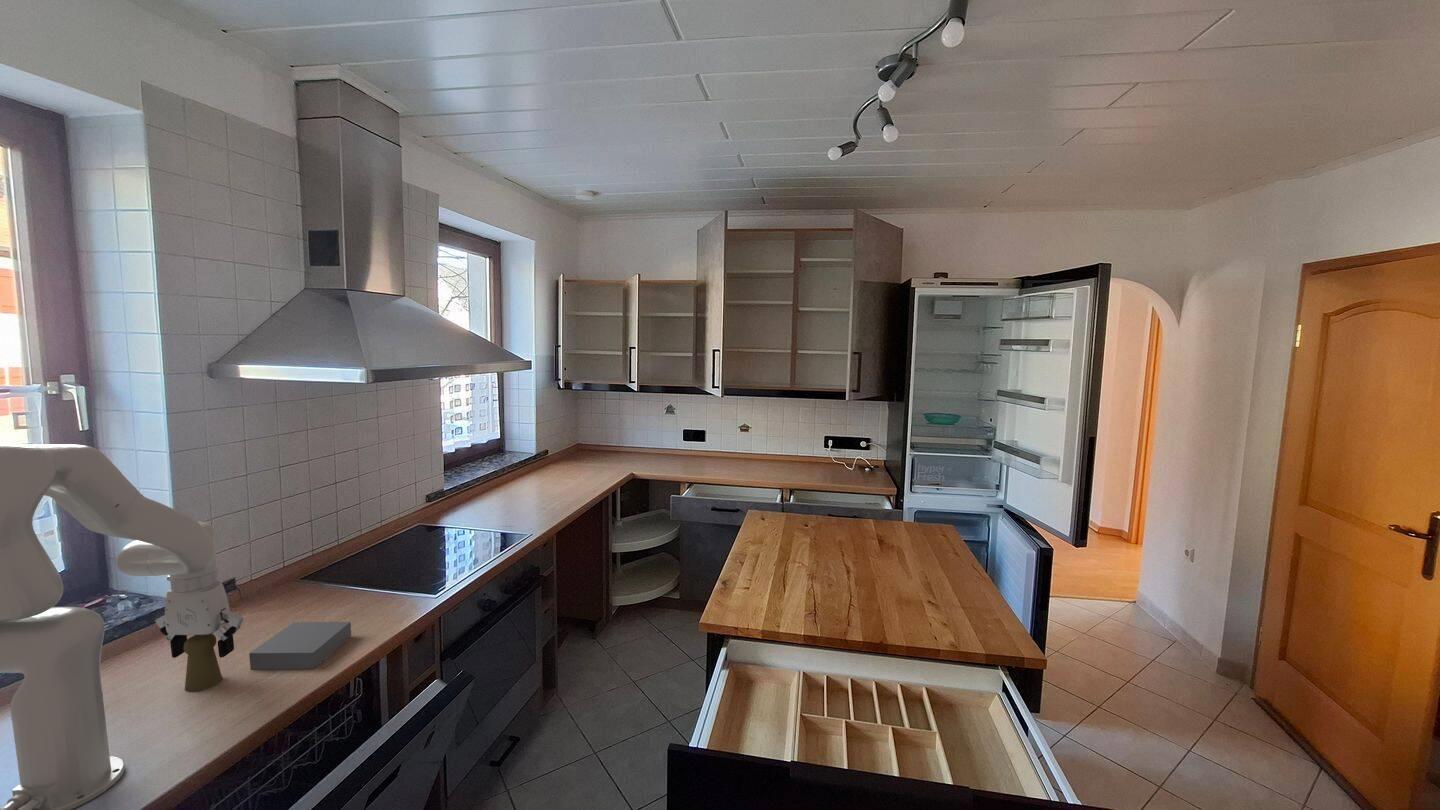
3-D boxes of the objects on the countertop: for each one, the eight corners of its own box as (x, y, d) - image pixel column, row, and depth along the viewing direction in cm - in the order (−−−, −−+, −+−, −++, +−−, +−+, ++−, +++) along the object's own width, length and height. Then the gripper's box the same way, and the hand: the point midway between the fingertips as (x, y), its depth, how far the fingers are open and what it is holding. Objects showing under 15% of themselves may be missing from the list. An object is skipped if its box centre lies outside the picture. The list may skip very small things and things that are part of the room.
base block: (313, 669, 126) (312, 652, 126) (250, 669, 126) (249, 653, 125) (351, 636, 140) (350, 621, 140) (294, 636, 139) (293, 622, 139)
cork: (219, 671, 124) (215, 626, 123) (224, 682, 121) (220, 635, 119) (182, 684, 120) (178, 636, 119) (186, 695, 116) (182, 647, 115)
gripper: (135, 588, 114) (145, 664, 116) (222, 588, 115) (230, 664, 117) (169, 572, 121) (178, 644, 123) (251, 572, 122) (258, 644, 124)
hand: (203, 653), depth 120 cm, fingers open, 9 cm apart
